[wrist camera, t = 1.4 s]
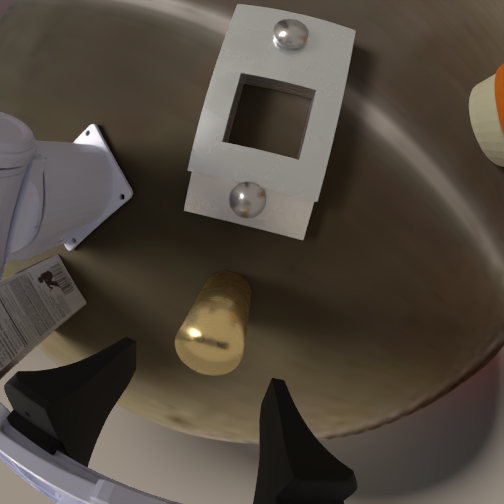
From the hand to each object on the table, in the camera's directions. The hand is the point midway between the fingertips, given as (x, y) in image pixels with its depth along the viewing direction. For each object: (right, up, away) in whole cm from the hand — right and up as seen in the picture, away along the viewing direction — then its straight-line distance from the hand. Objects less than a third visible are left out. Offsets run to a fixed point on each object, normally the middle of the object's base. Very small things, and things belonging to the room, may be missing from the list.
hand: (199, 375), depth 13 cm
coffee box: (-19, +2, +12) cm, 23 cm away
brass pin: (+1, +3, +10) cm, 10 cm away
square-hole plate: (+4, +16, +6) cm, 17 cm away
